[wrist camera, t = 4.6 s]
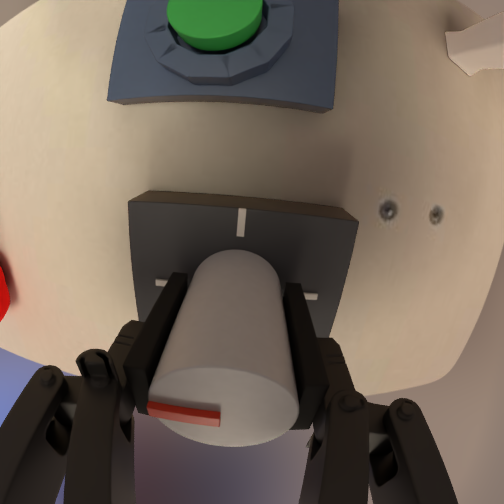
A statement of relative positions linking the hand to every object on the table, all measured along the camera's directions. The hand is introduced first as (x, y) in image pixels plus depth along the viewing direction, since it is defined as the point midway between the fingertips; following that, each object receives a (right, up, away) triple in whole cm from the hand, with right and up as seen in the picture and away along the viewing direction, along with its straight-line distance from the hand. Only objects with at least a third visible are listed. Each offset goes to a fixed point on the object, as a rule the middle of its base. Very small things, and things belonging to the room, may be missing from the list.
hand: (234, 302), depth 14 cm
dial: (0, 0, +1) cm, 1 cm away
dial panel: (0, +2, +4) cm, 4 cm away
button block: (-1, +15, -1) cm, 15 cm away
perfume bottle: (+17, +17, -2) cm, 24 cm away
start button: (-1, +13, -5) cm, 14 cm away
